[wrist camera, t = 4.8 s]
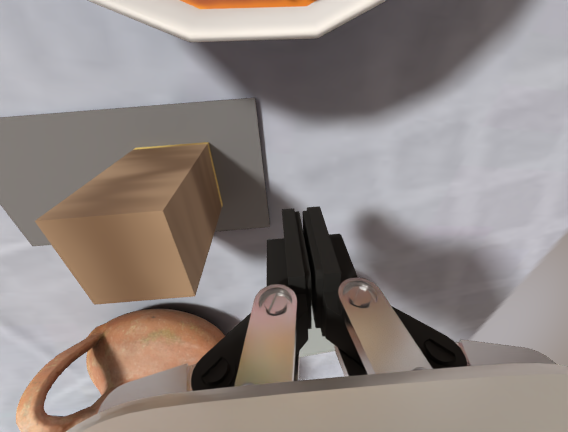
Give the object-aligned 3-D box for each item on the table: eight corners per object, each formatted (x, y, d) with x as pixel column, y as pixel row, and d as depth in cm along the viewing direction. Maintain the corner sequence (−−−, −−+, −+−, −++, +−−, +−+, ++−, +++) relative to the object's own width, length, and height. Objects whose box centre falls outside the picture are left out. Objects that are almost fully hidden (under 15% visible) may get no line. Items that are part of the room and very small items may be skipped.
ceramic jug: (267, 345, 32) (265, 520, 20) (183, 384, 36) (139, 551, 24) (149, 256, 24) (23, 460, 12) (58, 319, 28) (-107, 521, 16)
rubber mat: (255, 97, 17) (254, 98, 16) (269, 224, 22) (269, 226, 22) (-56, 122, 16) (-63, 123, 16) (36, 243, 22) (32, 246, 22)
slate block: (324, 249, 24) (342, 314, 18) (331, 281, 26) (349, 348, 20) (278, 259, 24) (280, 326, 18) (288, 290, 27) (294, 358, 21)
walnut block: (208, 142, 18) (162, 210, 10) (222, 205, 20) (195, 296, 13) (135, 147, 18) (34, 221, 10) (159, 209, 20) (94, 304, 13)
